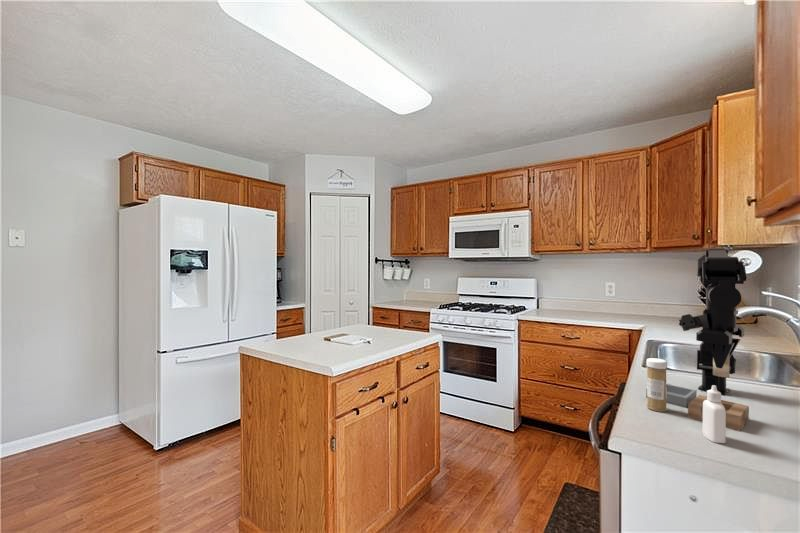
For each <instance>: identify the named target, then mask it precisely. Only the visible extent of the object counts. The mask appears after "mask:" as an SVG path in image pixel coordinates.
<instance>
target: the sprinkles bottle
mask: <svg viewBox="0 0 800 533" xmlns="http://www.w3.org/2000/svg"><path fill="white" fill-rule="evenodd" d="M667 361H668V360H666V359H663V358H657V357H656V358H653V357H649V358H646V368H647V370H646V372H647V374H646V389H647V398H646V401H647V404H646V407H647V409H649V410H651V411H654V412H660V413H661V412H662V413H663V412H666V411H667V410H668V408H667V403H666V398H667V387H666V384H667V369H668V362H667Z"/></svg>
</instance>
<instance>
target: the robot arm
mask: <svg viewBox="0 0 800 533" xmlns="http://www.w3.org/2000/svg"><path fill="white" fill-rule="evenodd" d="M704 252H705V253H704V254H703V255H702V256H701V257H699V258H698V259H697V268H696V271H697V274H696V276H697V277H699V282H700V284H701V285H702V287H703V288H704V290H705V296H706V297H705V309H704V310H703V311H702V314H699V315H695V316H694V315H692V314H690V313H689V314H683V315H681V318H680V319H679V320H678V321H679V323H678V325H679V326H680V327H681V328H682V331H683V332H686V331H690V330H694V329H699V328H702V329H700V330H699V331H697V332H696V334H695V335H696V341H698V342H701V343H699V349H697V350H696V370H698V371H701V385H699V386H698V387H697V390H701V391H704V392H707V391H708V390H711V388H712V385H715V386H716V388H717V391H719V392H720V393H721V395H724V396H725V395H727V394H728V393H729V392H730V391H731V389H730V388H727V377H719V376H715V375H713V358H714V362H715V365H716V367H717V368H722V367H723V365H724V363H725V362H726V359H727V357H728V355H729V353H730V359H729V375H733V374H736V364H737V363H736V362H737V359H736V358H735V357H734V354H733V353H734V352H735V349H736V348H737V346H738V345H739V343H740V341H741V339H740V338H744V337H745V329H744V327H742V326H741V325H740V324H737V315H738V314H739V310H737V307H738V306H739V305H740V303H741V301H742V294H741V292H740V291H739V289H738V288H737V287H736V285H744V284H745V282H746V281H747V273H746V272H747V271H746V266H745V265H744V263H743V261H742V260H741V261H739V258H738V257H737V256H729V253H728V252H729V251H728V249H726V248H708V249H705V251H704ZM734 336H738V337H739V338H735V337H734Z"/></svg>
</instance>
